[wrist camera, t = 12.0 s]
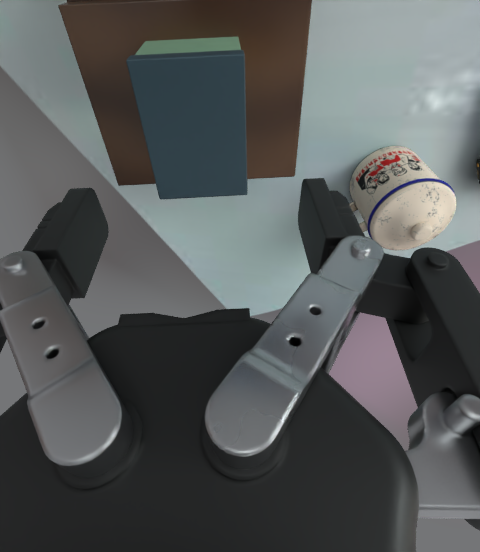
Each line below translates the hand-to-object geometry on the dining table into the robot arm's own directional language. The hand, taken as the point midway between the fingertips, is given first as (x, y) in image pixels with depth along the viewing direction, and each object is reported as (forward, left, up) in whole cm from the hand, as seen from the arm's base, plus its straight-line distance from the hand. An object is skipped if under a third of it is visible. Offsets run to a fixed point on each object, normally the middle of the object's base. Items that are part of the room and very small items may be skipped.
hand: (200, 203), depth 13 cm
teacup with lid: (+15, +19, -26) cm, 36 cm away
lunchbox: (0, -1, -12) cm, 12 cm away
